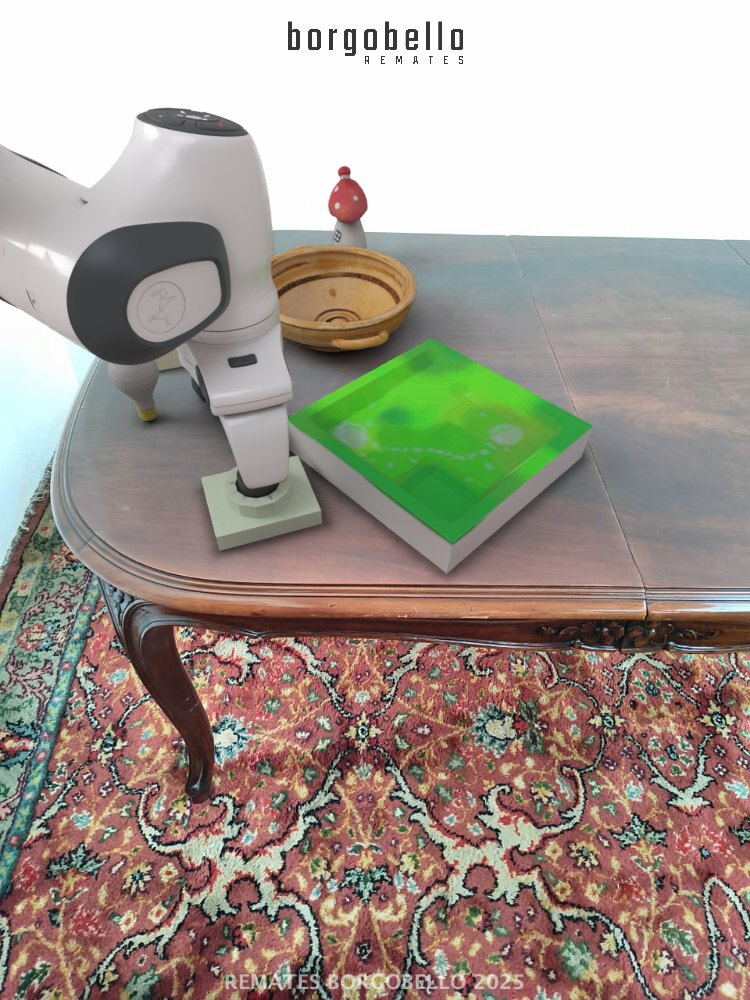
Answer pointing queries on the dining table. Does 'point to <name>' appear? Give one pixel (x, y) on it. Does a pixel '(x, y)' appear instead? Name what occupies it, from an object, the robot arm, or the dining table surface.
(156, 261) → the robot arm
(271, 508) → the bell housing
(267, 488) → the bell button
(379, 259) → the ceramic bowl
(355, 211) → the decorative ornament
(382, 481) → the tray
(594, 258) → the dining table surface
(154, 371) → the light bulb
